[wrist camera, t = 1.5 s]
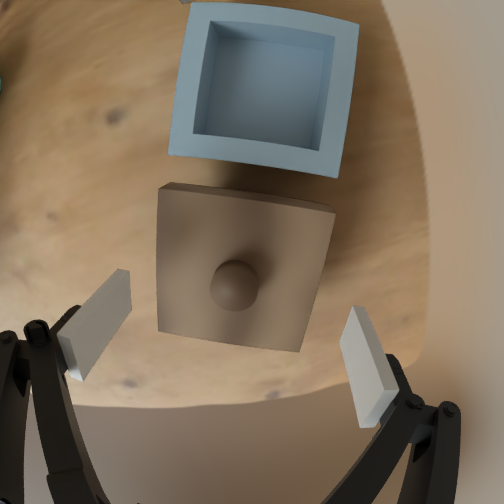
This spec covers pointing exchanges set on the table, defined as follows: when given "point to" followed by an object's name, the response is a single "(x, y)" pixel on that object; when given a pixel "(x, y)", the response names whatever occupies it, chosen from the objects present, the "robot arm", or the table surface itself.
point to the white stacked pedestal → (185, 1)
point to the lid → (238, 264)
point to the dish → (264, 87)
